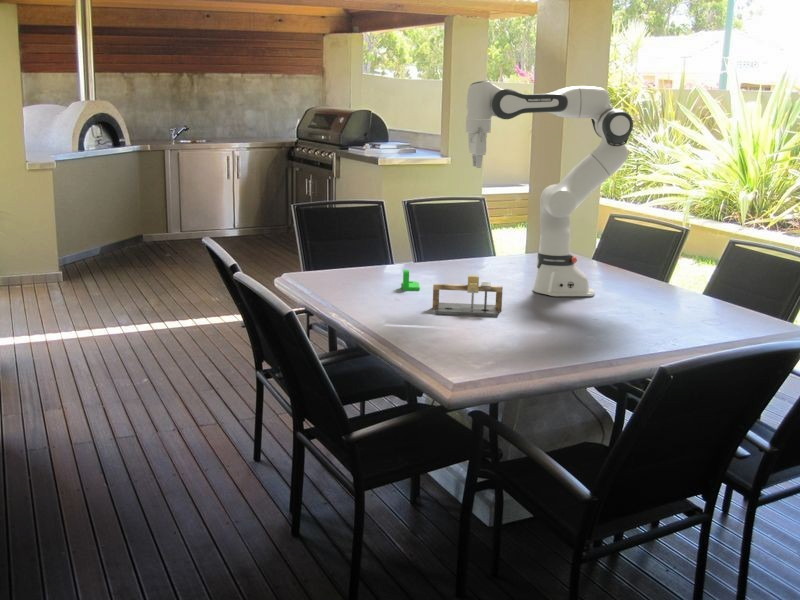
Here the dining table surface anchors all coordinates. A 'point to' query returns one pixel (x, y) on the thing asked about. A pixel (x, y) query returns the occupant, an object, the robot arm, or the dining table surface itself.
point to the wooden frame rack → (483, 287)
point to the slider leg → (473, 286)
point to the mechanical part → (409, 282)
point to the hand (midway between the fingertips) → (476, 167)
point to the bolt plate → (466, 310)
